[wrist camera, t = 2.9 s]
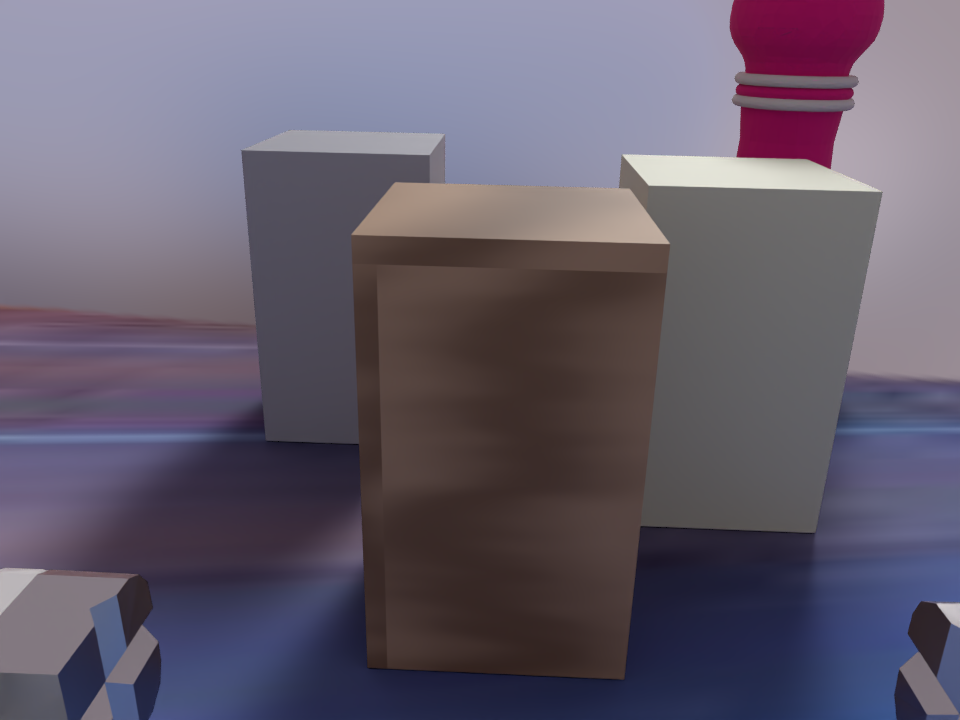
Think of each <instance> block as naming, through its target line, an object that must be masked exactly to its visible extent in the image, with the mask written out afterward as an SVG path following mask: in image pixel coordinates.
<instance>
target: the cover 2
mask: <svg viewBox="0 0 960 720" xmlns="http://www.w3.org/2000/svg"><path fill="white" fill-rule="evenodd" d="M619 188H624V189H630V190H631V191H632V192H633V194H634V195H635V196H636V198H637V199H638V201H639V202H640V203H641V205H642V206H643V207H644V209H645V210H646V212H647V213H648V214H649V216H650V217H651V218H652V220H653V221H654V223H655V224H656V225H657V227H658V228H659V229H660V231H661V232H662V233H663V235H664V236H665V238H666V239H667V240H668V242H669V243H670V251H669V261H668V270H667V280H666V289H665V299H664V308H663V318H662V327H661V336H660V346H659V355H658V365H657V374H656V384H655V393H654V403H653V412H652V422H651V431H650V440H649V450H648V459H647V469H646V478H645V488H644V497H643V507H642V516H641V526H653V527H678V528H703V529H728V530H753V531H778V532H803V533H816V528H817V522H818V517H819V512H820V507H821V502H822V497H823V492H824V487H825V482H826V477H827V472H828V467H829V462H830V456H831V451H832V446H833V441H834V436H835V431H836V426H837V421H838V416H839V411H840V406H841V401H842V395H843V390H844V385H845V380H846V375H847V370H848V365H849V360H850V355H851V350H852V345H853V340H854V334H855V329H856V324H857V319H858V314H859V309H860V304H861V299H862V293H863V289H864V283H865V278H866V273H867V268H868V263H869V258H870V253H871V248H872V243H873V238H874V233H875V228H876V222H877V217H878V212H879V207H880V202H881V197H882V191H880V190H877V189H875V188H873V187H870V186H868V185H866V184H863V183H861V182H859V181H856V180H854V179H852V178H849V177H847V176H845V175H842V174H840V173H838V172H835V171H833V170H831V169H828V168H826V167H824V166H821V165H819V164H817V163H814V162H812V161H810V160H807V159H776V158H737V157H736V158H735V157H698V156H658V155H622V159H621V171H620V184H619Z"/></svg>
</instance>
